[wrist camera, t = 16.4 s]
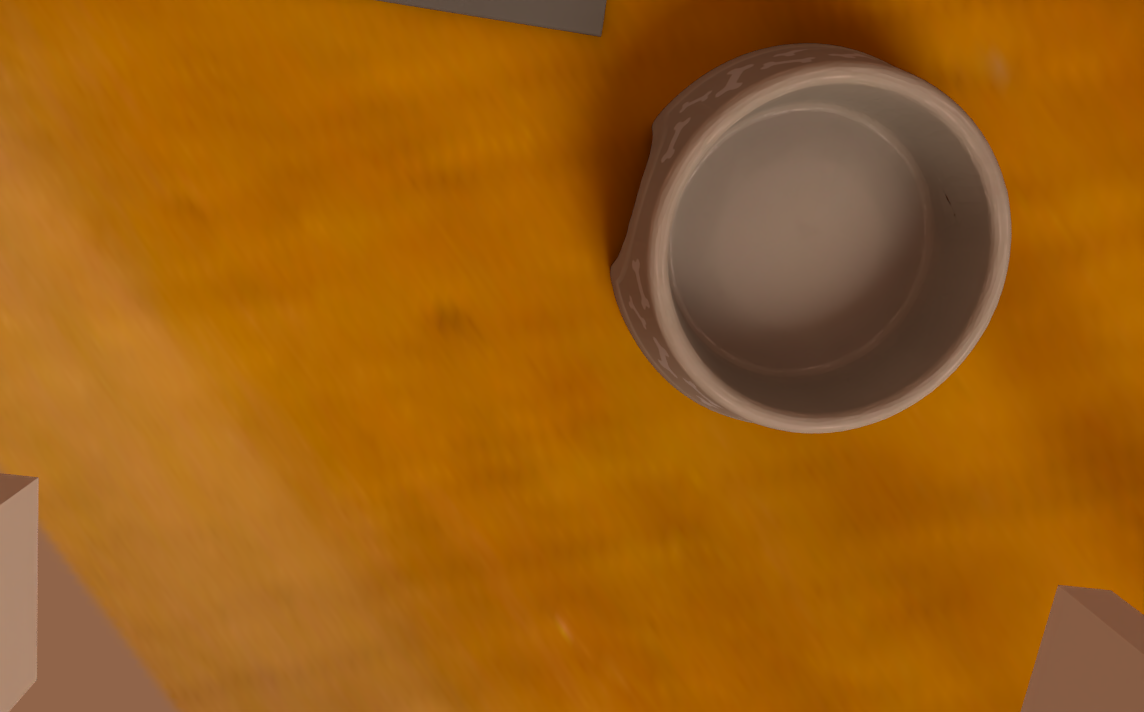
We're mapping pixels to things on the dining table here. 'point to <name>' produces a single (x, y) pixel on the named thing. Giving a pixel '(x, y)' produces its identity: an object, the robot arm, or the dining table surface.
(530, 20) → the mat
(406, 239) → the dining table surface
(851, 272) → the dog bowl
